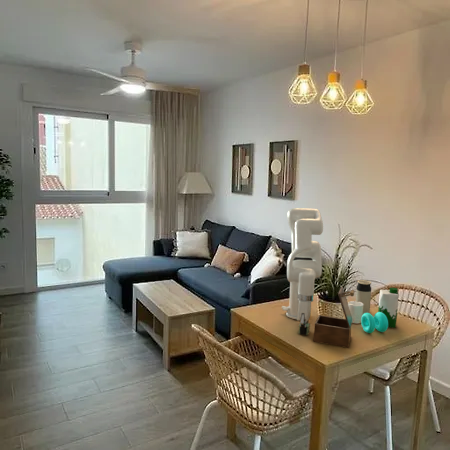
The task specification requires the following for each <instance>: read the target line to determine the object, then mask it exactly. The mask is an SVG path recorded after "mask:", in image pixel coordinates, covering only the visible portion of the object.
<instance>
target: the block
mask: <svg viewBox="0 0 450 450" xmlns="http://www.w3.org/2000/svg"><path fill="white" fill-rule="evenodd" d="M306 327H307V333H306V335H305V336H308V335H309V334H310V331H311V328H310V327H311V323H310V322H309V323H306ZM298 334H299V335H301V334H300V323H299V324H298Z"/></svg>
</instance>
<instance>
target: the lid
mask: <svg viewBox="0 0 450 450" xmlns="http://www.w3.org/2000/svg"><path fill="white" fill-rule="evenodd" d="M355 294H356V290H355V289H351V290H350V291H345V289H344V287H343V286H340V289H339V291H338V293H337V296H338V299H339V301H340V304H341V309H342V312H343V315H344V319H346V322H347V325H348V328H350V327H351V328H352V324H353V323H352V315H351V312H350V309H349V305H348V302H349V301H348V299H347V297H354V295H355ZM351 323H352V324H351Z"/></svg>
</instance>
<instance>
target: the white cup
mask: <svg viewBox="0 0 450 450" xmlns="http://www.w3.org/2000/svg"><path fill="white" fill-rule="evenodd" d="M347 302H348V305H349V309H350V312H351V315H352V324H356V325H357V324H361V318H362V315H363V314H362V313H363V305H364V304H363V303H361V302H357V301H356V300H351V301H347Z"/></svg>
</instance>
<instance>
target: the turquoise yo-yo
mask: <svg viewBox="0 0 450 450" xmlns="http://www.w3.org/2000/svg"><path fill="white" fill-rule="evenodd" d="M360 324H361V328H362V329H363V331H364V332H365V333H367V334H372V333H374V332H375V330H377V332H379V333H385V332H386V331H387V330H388V328H389V327H388V320H387V317H386V316H385V314H384V313H382V312H378V311H377V312H375V313H374V315H372V314H371V312H370V313H364V314H362V318H361V323H360Z"/></svg>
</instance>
